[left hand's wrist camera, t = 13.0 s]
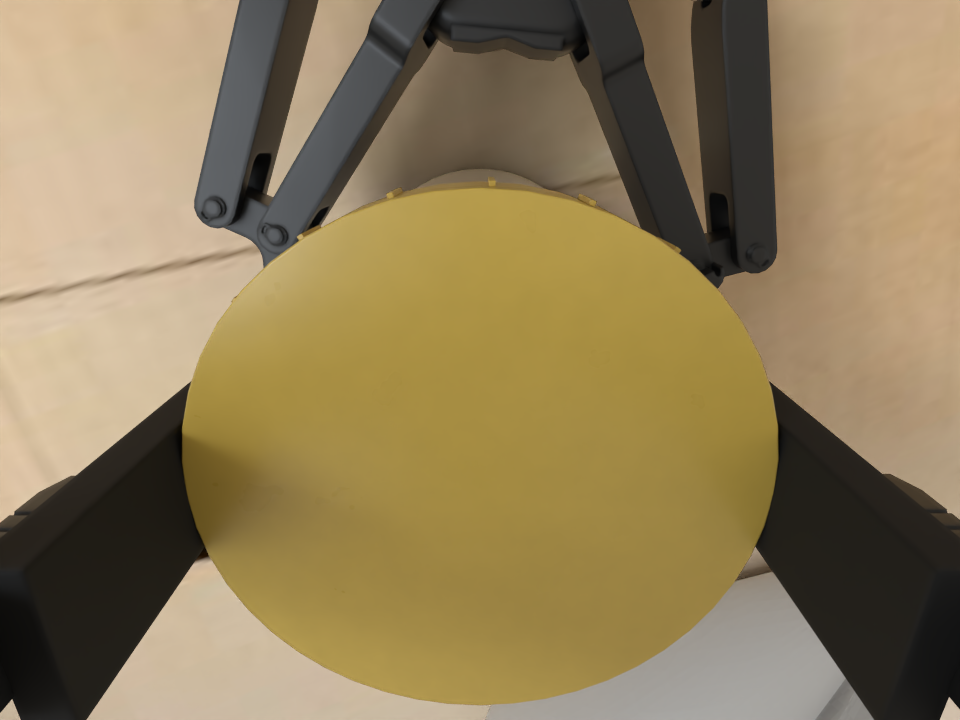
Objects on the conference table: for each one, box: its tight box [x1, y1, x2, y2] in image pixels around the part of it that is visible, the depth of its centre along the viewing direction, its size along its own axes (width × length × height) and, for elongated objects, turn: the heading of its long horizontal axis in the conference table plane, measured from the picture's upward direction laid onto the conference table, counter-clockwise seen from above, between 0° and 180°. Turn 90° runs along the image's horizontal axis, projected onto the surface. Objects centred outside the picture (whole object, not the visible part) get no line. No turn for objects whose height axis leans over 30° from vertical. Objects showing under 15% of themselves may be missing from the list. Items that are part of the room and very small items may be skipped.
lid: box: [182, 177, 778, 705], centre depth 11 cm, size 11×11×2 cm
